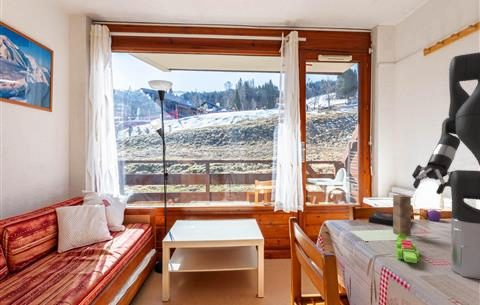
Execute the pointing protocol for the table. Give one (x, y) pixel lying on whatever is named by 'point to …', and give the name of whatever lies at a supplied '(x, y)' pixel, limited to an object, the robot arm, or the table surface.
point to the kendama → (429, 215)
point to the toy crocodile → (406, 249)
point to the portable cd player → (382, 218)
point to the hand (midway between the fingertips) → (426, 190)
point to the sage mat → (380, 235)
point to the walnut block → (402, 215)
